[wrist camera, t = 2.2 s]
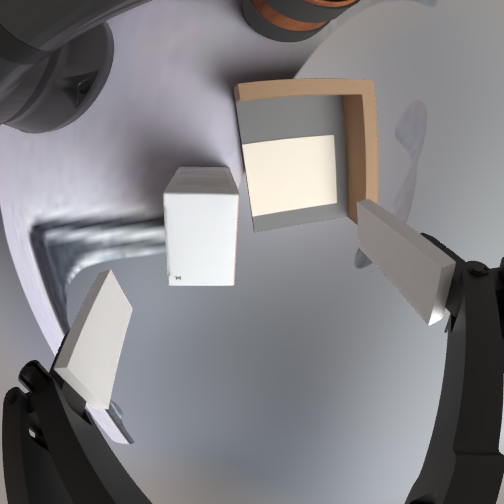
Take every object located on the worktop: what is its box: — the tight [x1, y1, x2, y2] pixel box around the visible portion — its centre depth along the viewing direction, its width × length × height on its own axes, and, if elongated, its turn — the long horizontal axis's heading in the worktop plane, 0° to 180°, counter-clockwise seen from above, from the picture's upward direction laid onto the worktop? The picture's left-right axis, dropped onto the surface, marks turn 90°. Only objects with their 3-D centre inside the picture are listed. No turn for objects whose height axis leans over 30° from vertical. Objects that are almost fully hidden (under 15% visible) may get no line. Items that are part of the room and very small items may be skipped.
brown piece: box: [233, 78, 378, 232], centre depth 27 cm, size 13×16×5 cm
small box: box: [162, 167, 239, 286], centre depth 25 cm, size 8×6×10 cm
